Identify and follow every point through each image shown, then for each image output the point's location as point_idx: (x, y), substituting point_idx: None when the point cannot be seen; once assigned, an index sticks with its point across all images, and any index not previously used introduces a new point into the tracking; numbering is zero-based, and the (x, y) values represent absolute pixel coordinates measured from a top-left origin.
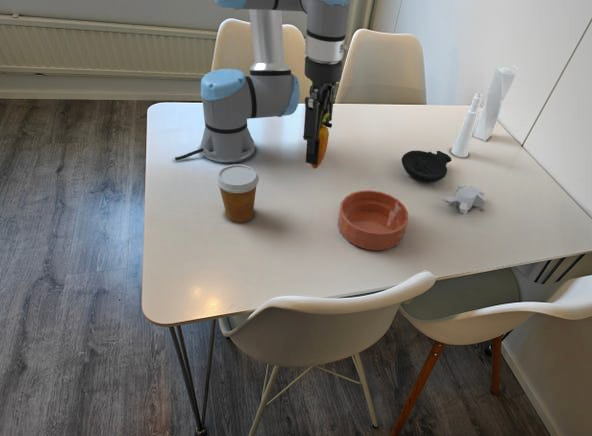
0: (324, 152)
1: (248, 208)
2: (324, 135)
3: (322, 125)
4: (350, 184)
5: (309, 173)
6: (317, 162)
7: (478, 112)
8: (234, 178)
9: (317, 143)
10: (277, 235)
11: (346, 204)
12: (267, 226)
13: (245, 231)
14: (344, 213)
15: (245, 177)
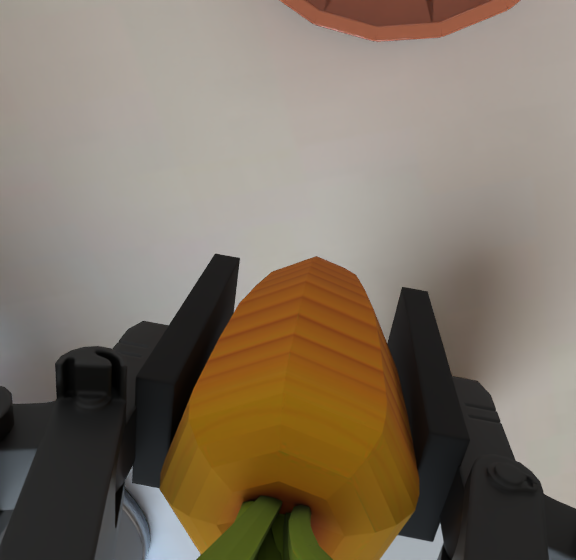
0: (326, 279)
1: None
2: (386, 413)
3: (236, 492)
4: (55, 22)
5: (62, 236)
6: (415, 296)
7: None
8: None
9: (460, 423)
10: (514, 282)
11: (320, 9)
12: (465, 326)
13: (504, 387)
14: (392, 9)
15: (439, 542)
